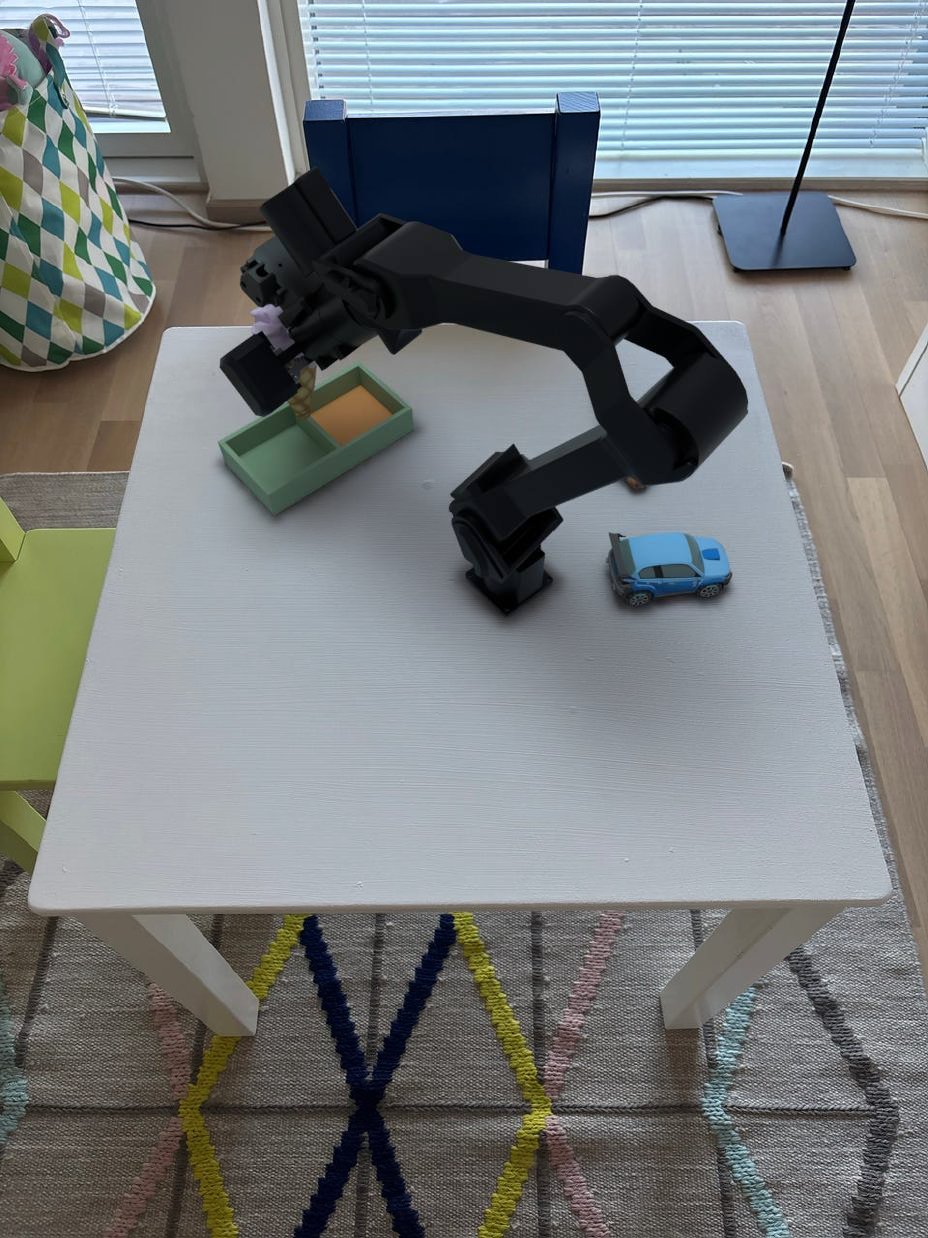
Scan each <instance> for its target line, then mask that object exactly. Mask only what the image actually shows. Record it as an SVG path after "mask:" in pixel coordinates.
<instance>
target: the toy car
mask: <svg viewBox="0 0 928 1238" xmlns="http://www.w3.org/2000/svg"><path fill="white" fill-rule="evenodd" d="M608 536H609V541H610V545H611V549H609V551H608V554H607V557H606V558H605V564H607V565H608V568H609V573H610V577H611V581H612V583H611V584H610V587H611V589H612V590H613V591H614V590H615V592H616V595H617V596H618V597H619V598H620V599H622V600H623V601H625V602H626V604H628V605H630V606H635V607H636V606H642V605H645V604H646V603H648V602H649V601H650V600H651V598H652V600H661V599H666V598H675V597H683V596H690V595H695V594H696V595H697V596H698V597H701V598H710V597H714V596H715V595H718V594H719V593H720V592H721V591H724V590H727V589H728V587H729V585H730V583H731V580H732V578H733V572H731V567H730V561H729V559H728V556H727V555H728V554H727V553H726V549H725V548H724V546H723V544H722V543H721V542H719V541H718V540H716V539H715V538H713V537H707V536H694V535H691V534H690V533H687V532H678V531H677V532H676V531H675V532H674V531H673V532H660V533H651V534H644V535H639V536H634V537H633V536H632V537H627V535H623V534H621V533H620V532H616V533H612V532H608ZM620 538H623V539H620Z"/></svg>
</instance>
